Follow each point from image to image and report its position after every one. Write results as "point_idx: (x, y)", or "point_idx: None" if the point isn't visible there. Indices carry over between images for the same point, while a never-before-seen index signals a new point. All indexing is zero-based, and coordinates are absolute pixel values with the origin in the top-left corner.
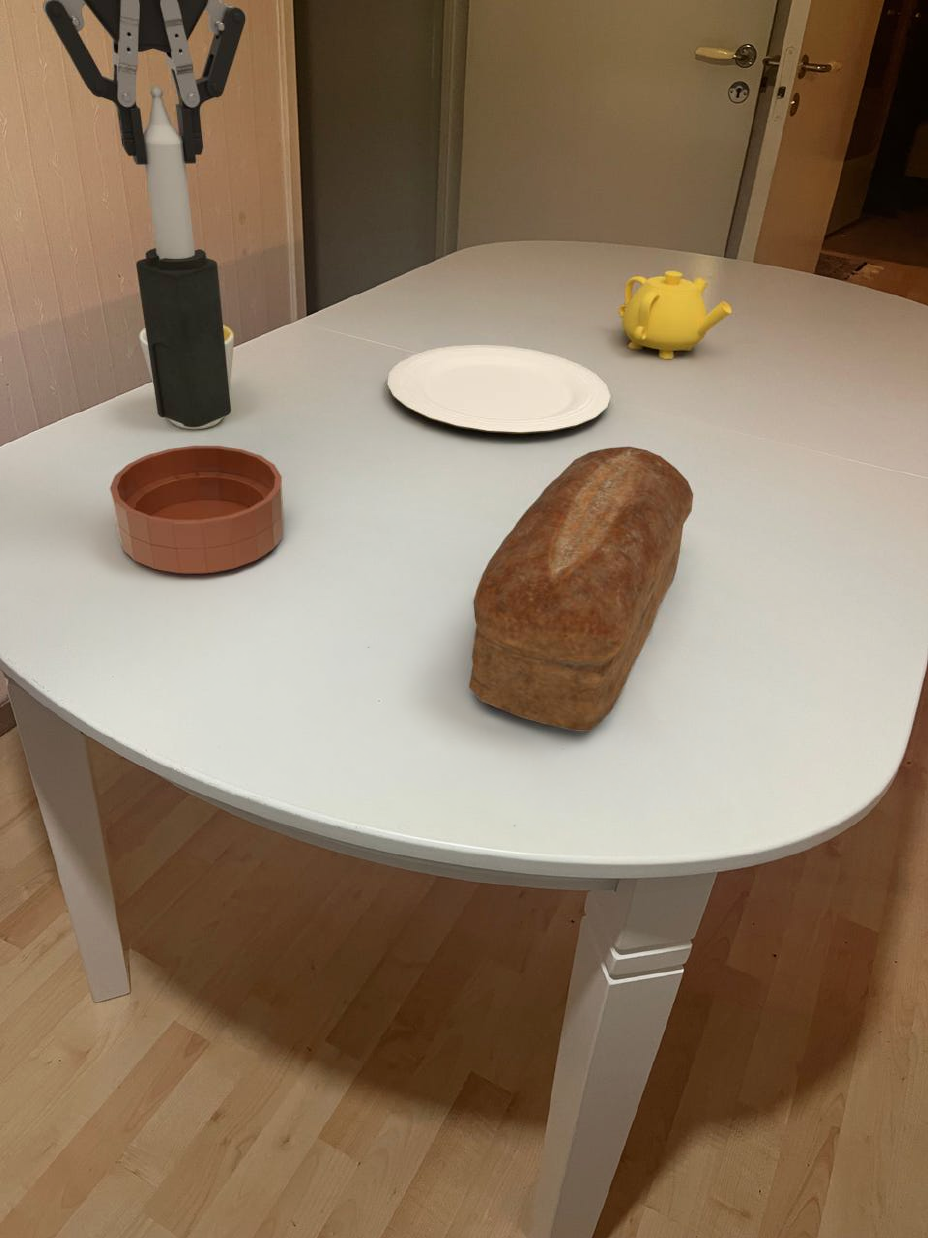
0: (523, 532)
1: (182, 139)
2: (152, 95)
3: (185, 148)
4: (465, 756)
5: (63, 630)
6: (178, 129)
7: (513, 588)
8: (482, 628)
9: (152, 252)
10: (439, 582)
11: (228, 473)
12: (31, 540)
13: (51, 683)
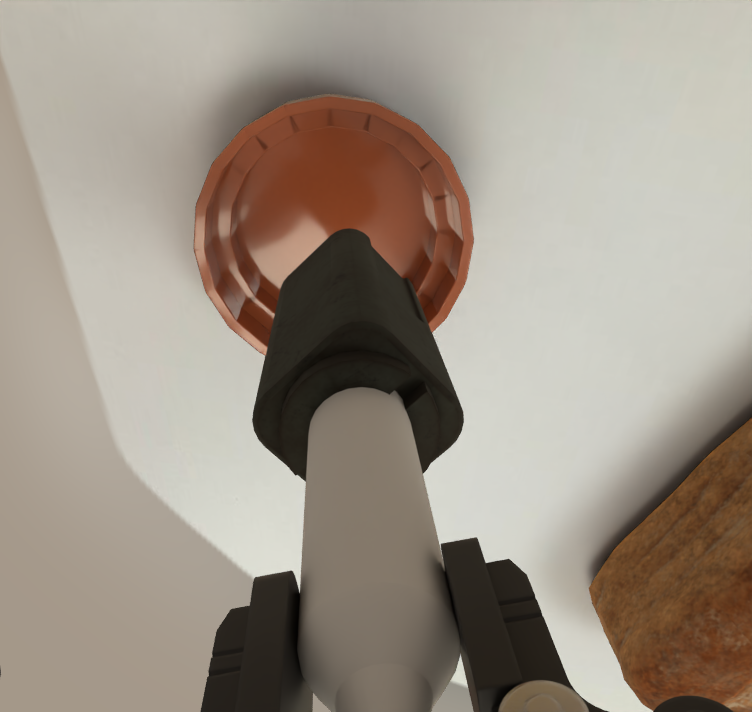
0: (733, 641)
1: (461, 648)
2: None
3: (462, 661)
4: (554, 631)
5: (168, 416)
6: (456, 607)
7: None
8: (622, 669)
9: (297, 424)
10: (631, 379)
11: (384, 121)
12: (73, 196)
13: (174, 501)
